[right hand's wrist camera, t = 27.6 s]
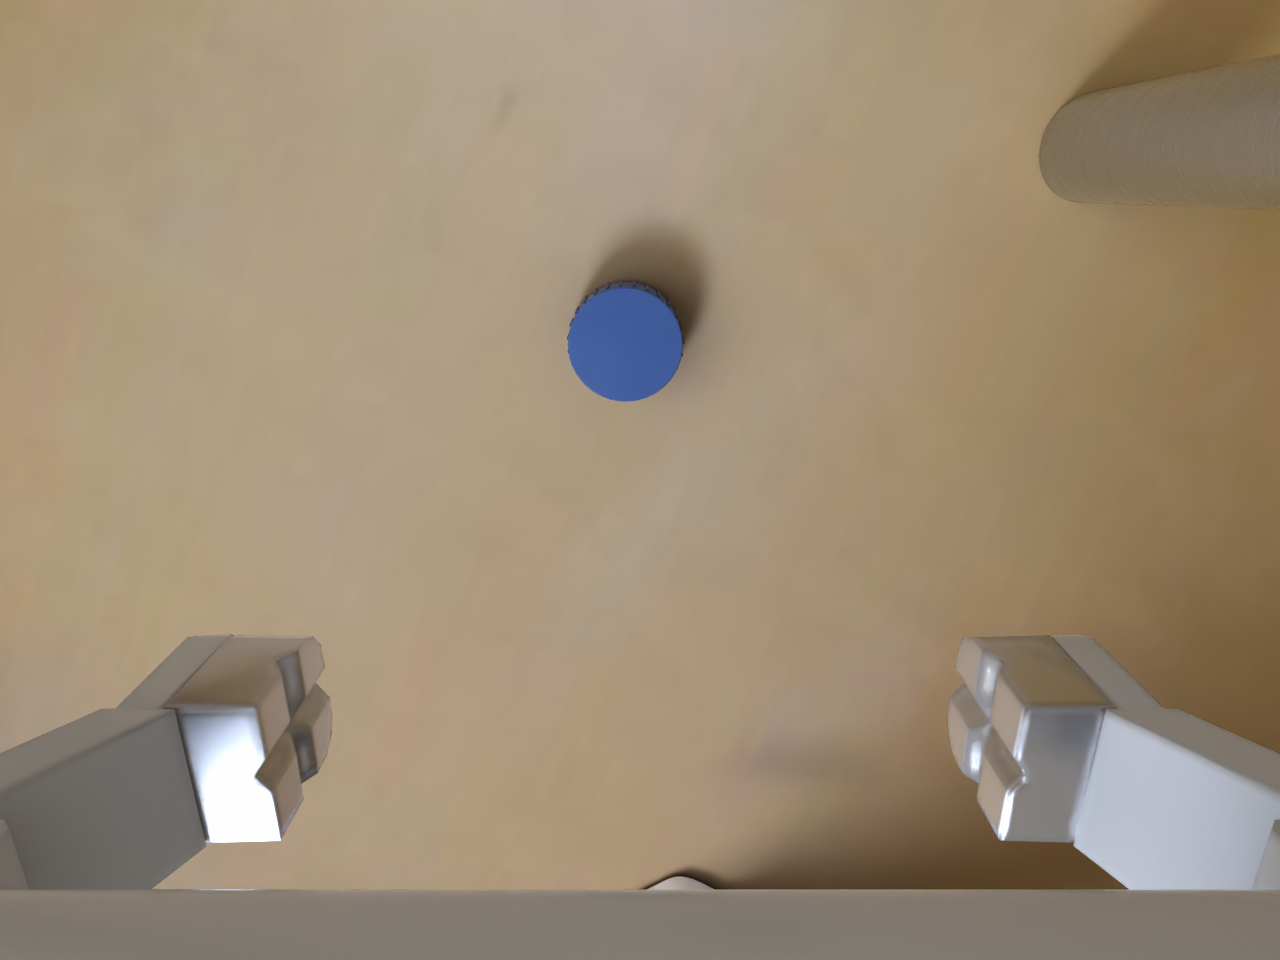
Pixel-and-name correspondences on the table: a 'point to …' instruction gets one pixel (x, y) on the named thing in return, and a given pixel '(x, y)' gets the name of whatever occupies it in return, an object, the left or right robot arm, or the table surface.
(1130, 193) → the jar
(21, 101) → the table surface
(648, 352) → the lid
